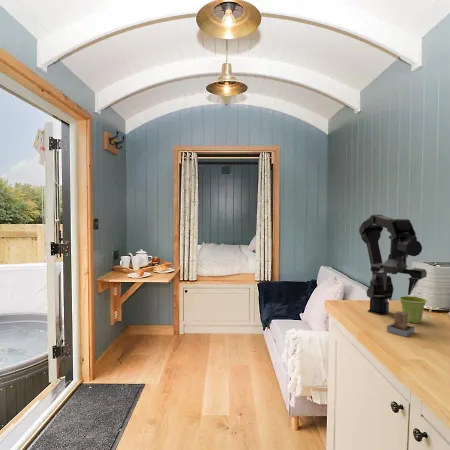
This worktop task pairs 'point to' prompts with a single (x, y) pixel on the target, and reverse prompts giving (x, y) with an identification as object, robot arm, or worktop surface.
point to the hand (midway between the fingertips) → (396, 292)
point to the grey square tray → (401, 330)
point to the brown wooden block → (401, 320)
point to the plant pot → (413, 308)
